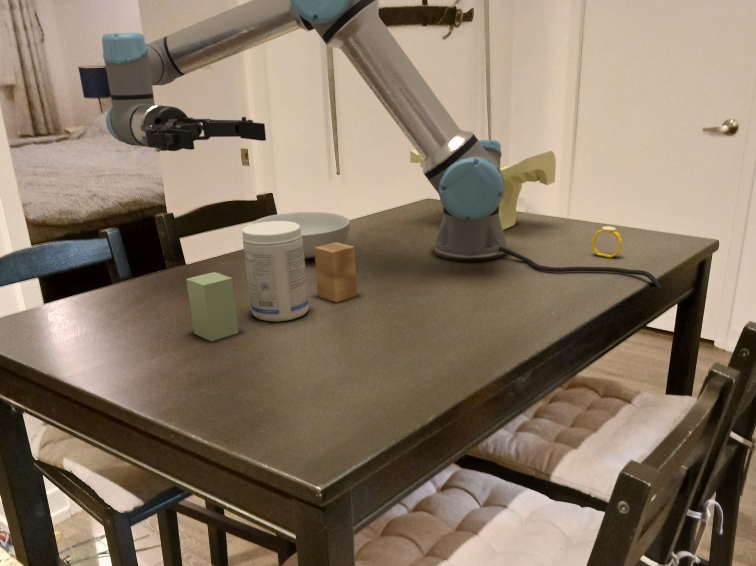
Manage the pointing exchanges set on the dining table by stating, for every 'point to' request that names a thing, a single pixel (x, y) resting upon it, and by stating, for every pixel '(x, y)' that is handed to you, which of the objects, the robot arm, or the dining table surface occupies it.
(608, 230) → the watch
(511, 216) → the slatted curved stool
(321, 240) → the serving bowl
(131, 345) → the dining table surface
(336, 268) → the beech block
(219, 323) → the sage block
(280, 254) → the supplement tub
